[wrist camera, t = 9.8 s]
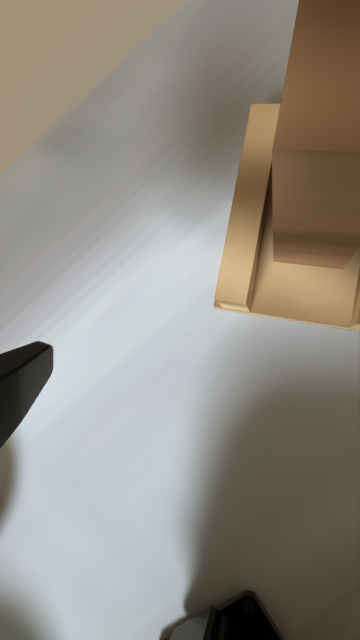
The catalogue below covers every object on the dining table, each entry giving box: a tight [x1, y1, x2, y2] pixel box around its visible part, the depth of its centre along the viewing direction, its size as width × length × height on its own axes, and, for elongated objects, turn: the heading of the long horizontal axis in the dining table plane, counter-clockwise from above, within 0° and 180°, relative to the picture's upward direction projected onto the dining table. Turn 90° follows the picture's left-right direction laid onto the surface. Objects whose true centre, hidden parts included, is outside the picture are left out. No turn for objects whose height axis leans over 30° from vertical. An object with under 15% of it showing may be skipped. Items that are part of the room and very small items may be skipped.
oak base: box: [214, 103, 360, 331], centre depth 17 cm, size 10×9×4 cm
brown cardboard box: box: [272, 0, 360, 269], centre depth 13 cm, size 6×4×10 cm, turn 169°
